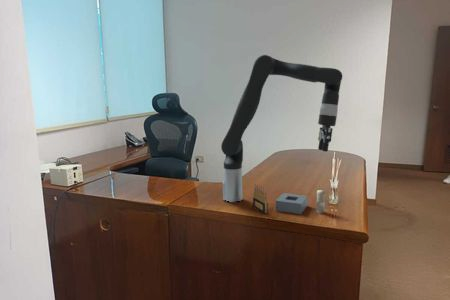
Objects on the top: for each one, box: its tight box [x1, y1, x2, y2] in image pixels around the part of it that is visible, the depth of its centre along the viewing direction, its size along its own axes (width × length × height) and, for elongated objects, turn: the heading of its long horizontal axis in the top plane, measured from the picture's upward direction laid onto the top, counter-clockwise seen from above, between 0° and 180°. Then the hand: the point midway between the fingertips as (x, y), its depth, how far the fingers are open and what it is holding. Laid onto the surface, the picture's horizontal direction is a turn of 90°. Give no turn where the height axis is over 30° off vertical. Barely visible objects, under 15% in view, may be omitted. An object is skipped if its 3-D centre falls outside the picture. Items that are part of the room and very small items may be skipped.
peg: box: [316, 189, 326, 215], centre depth 157 cm, size 4×4×10 cm
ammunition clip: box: [252, 183, 269, 215], centre depth 161 cm, size 11×2×12 cm, turn 26°
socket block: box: [275, 192, 308, 215], centre depth 163 cm, size 12×12×5 cm
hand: (322, 150), depth 155 cm, fingers open, 8 cm apart
